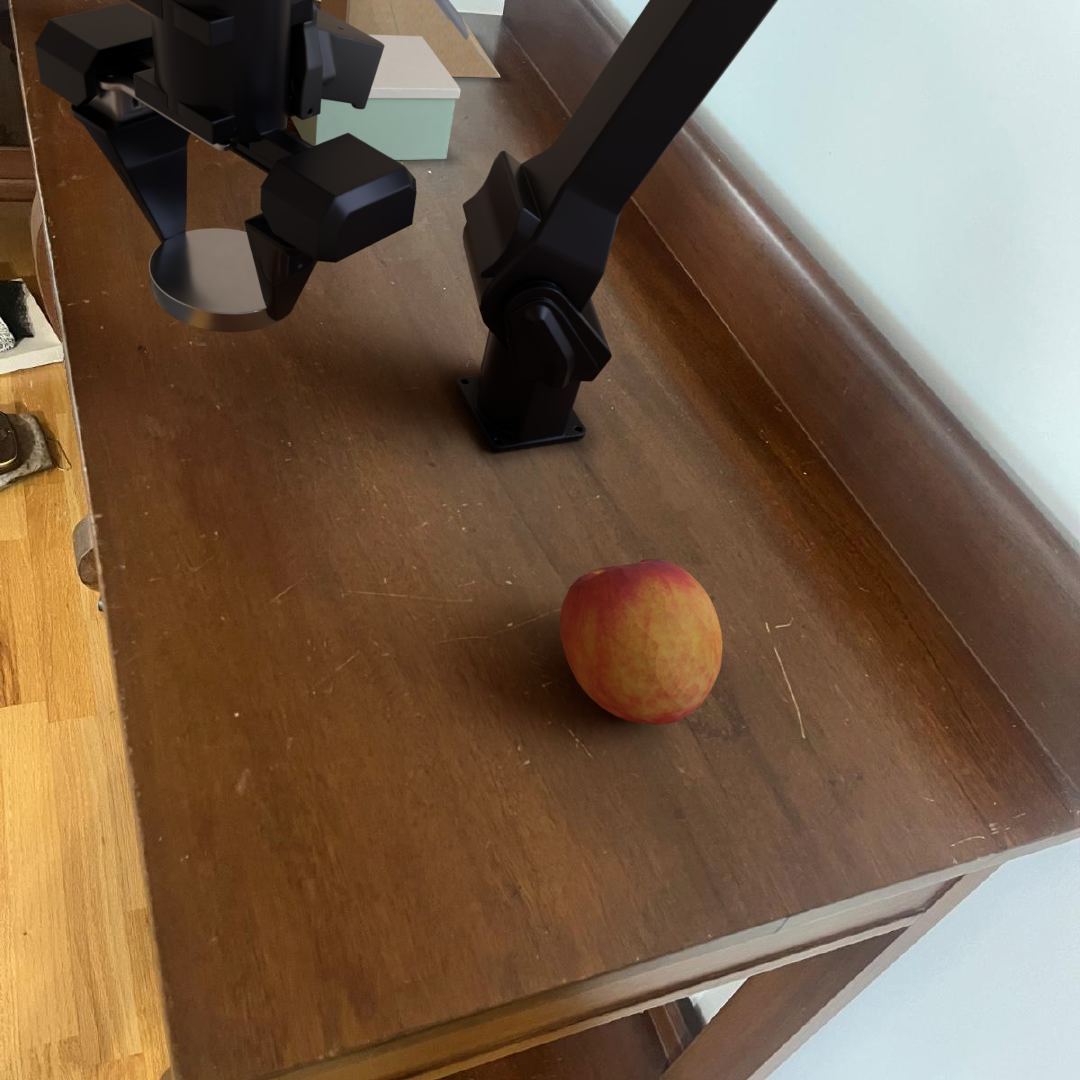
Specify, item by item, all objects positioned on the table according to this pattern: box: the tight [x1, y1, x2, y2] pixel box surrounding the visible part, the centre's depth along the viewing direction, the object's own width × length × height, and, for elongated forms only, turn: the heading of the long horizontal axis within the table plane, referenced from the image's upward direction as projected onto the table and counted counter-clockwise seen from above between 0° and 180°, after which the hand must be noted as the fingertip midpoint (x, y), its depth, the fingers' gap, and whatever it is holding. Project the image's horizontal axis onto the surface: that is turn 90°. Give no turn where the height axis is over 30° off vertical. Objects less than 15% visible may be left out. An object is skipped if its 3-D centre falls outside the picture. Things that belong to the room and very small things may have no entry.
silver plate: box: [148, 227, 299, 333], centre depth 52 cm, size 7×7×2 cm
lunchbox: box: [290, 35, 461, 161], centre depth 80 cm, size 12×9×6 cm
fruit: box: [559, 558, 723, 726], centre depth 48 cm, size 8×8×8 cm
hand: (226, 280), depth 52 cm, fingers closed on silver plate, 7 cm apart
